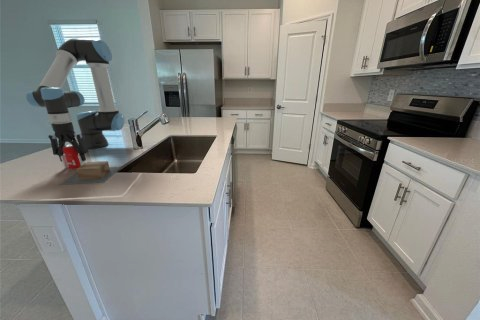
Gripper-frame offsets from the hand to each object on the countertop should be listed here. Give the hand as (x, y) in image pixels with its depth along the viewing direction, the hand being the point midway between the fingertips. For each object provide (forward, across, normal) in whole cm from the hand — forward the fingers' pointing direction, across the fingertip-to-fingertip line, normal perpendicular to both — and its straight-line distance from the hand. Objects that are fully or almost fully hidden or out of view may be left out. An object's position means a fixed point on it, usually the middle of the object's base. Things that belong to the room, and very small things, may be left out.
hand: (75, 166), depth 102 cm
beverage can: (+1, 0, 0) cm, 1 cm away
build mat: (+1, +14, -11) cm, 18 cm away
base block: (0, +15, -11) cm, 19 cm away
